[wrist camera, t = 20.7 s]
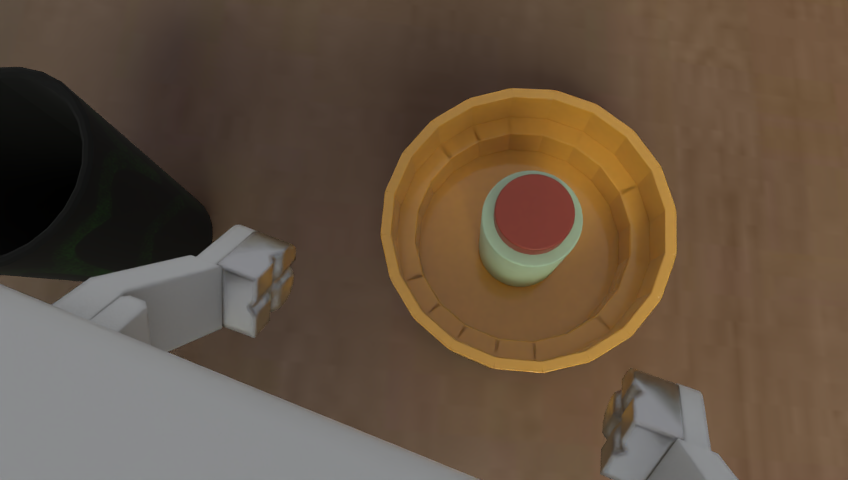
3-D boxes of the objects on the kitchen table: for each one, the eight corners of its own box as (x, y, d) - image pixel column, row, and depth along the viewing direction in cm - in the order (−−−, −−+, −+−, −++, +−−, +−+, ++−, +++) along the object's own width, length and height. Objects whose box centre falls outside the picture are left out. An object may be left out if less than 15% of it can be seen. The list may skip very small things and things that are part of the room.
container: (557, 291, 29) (585, 268, 22) (475, 282, 29) (477, 257, 22) (562, 211, 30) (590, 166, 23) (482, 204, 30) (486, 157, 23)
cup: (137, 155, 33) (-44, 39, 21) (253, 199, 32) (128, 102, 20) (74, 277, 32) (-157, 225, 20) (193, 328, 30) (21, 304, 19)
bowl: (641, 382, 28) (677, 385, 23) (383, 359, 29) (366, 357, 24) (643, 137, 31) (676, 94, 26) (407, 125, 32) (396, 82, 27)
